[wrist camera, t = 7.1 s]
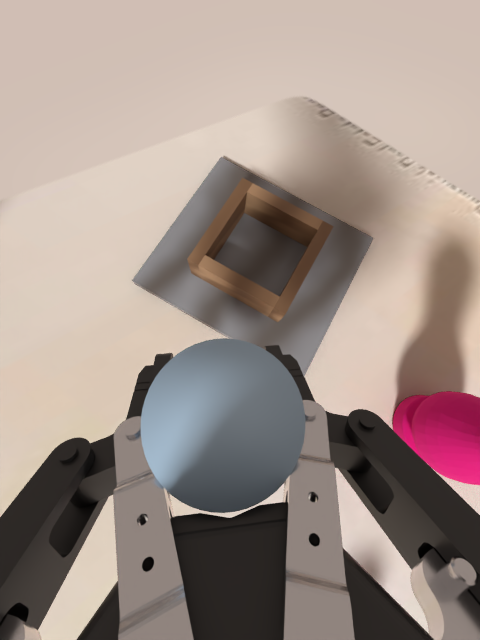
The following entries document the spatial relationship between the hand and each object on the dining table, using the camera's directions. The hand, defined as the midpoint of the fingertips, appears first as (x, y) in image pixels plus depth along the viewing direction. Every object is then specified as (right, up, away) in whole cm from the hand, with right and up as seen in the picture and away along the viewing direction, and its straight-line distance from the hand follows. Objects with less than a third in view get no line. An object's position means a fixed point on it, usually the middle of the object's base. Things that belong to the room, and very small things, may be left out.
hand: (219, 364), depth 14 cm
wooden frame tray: (+3, +9, +17) cm, 19 cm away
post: (0, -3, +5) cm, 6 cm away
